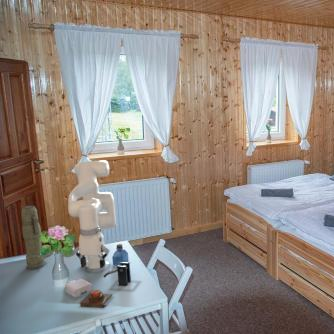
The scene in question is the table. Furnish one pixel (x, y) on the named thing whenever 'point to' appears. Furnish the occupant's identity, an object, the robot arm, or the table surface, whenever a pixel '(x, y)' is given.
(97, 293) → the button
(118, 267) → the tap bracket
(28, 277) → the table surface
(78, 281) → the pale pink block
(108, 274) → the lever
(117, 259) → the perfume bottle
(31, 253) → the stone head statue
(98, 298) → the button block
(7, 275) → the table surface
